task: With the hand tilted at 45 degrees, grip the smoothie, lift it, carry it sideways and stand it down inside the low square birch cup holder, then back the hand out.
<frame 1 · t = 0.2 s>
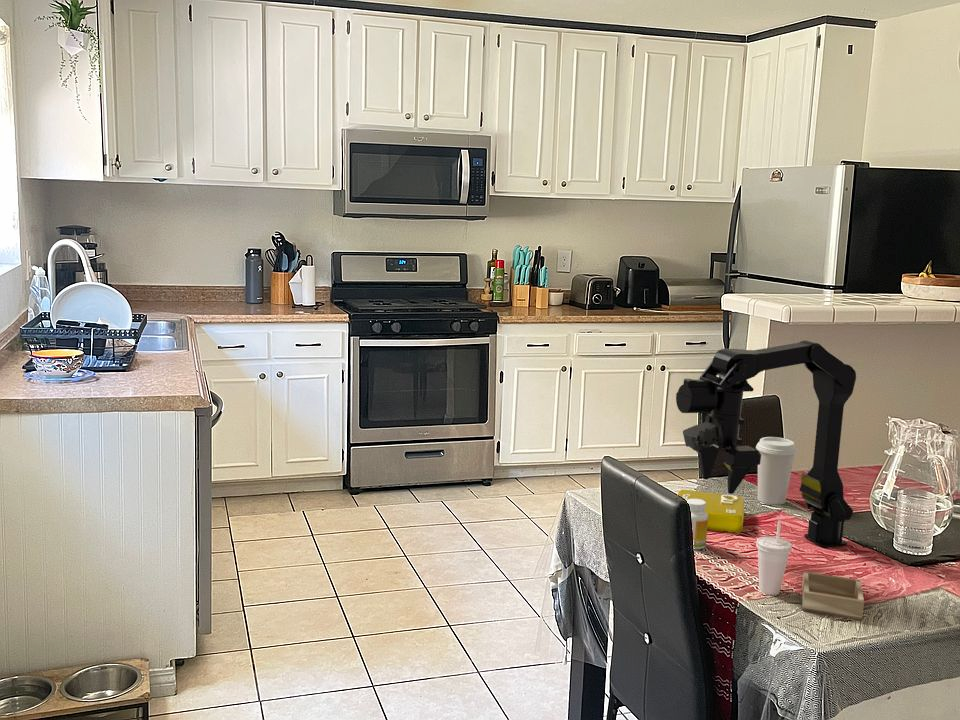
hand: (718, 486, 189), 14 cm above the table, tool pointing down, fingers open, 9 cm apart
supplement bottle: (692, 546, 196), on the table
cup holder: (830, 603, 170), on the table
smoothie: (769, 591, 175), on the table
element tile: (708, 520, 213), on the table
coffee cup: (771, 501, 226), on the table
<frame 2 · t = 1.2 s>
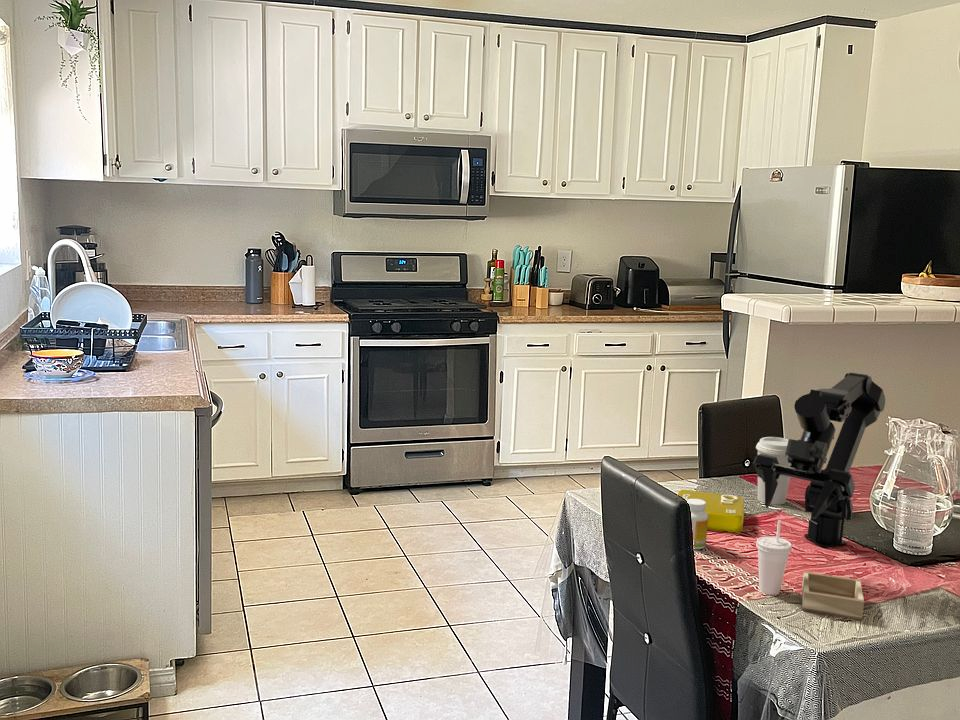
hand: (789, 512, 179), 13 cm above the table, tool tilted 45°, fingers open, 9 cm apart
nothing on the table moved.
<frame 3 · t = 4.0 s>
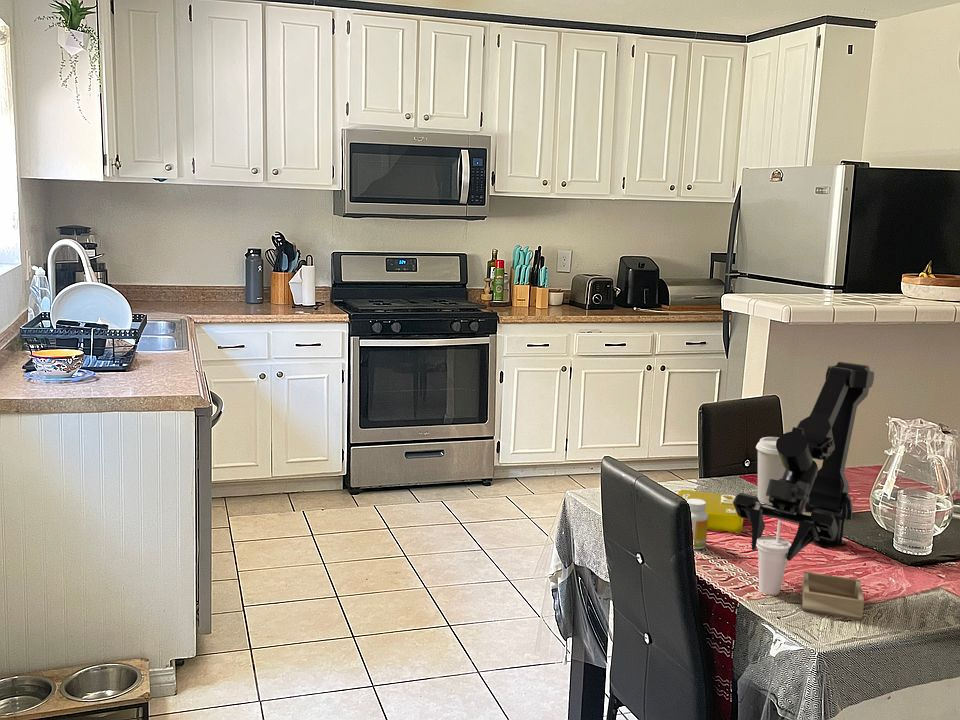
hand: (770, 554, 172), 8 cm above the table, tool tilted 45°, fingers closed on smoothie, 6 cm apart
smoothie: (769, 591, 175), on the table, touching gripper
everything else where it was.
when the fingers open (9 cm above the table, at t = 7.5 s): smoothie drops 1 cm, resting on cup holder.
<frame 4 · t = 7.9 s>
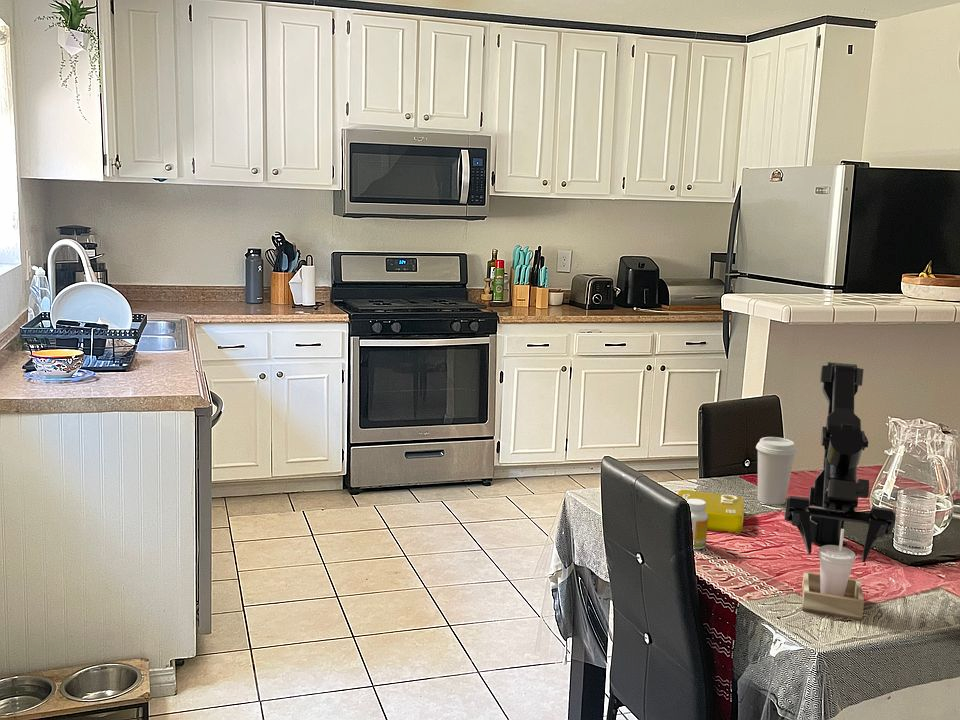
hand: (836, 557, 167), 10 cm above the table, tool tilted 45°, fingers open, 9 cm apart
smoothie: (831, 601, 170), resting on cup holder
everything else where it was.
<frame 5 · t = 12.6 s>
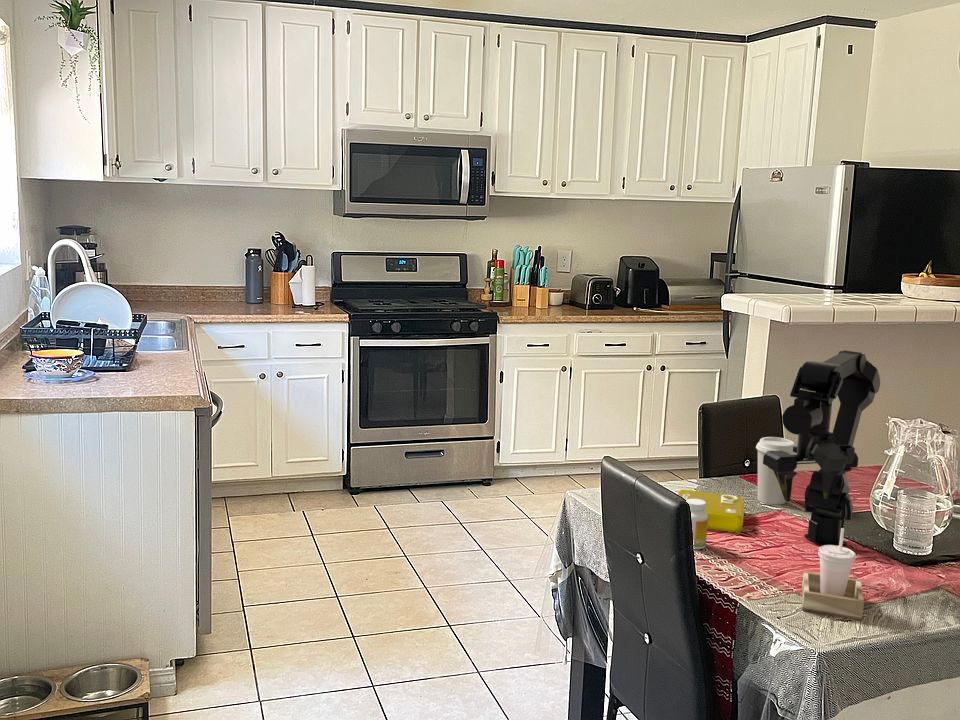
hand: (806, 499, 187), 13 cm above the table, tool pointing down, fingers open, 9 cm apart
nothing on the table moved.
at the end: smoothie 0.1 cm off-centre on the cup holder, point 0.3 cm above the cup holder's base; smoothie tilted 0°; the gripper is holding nothing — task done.
